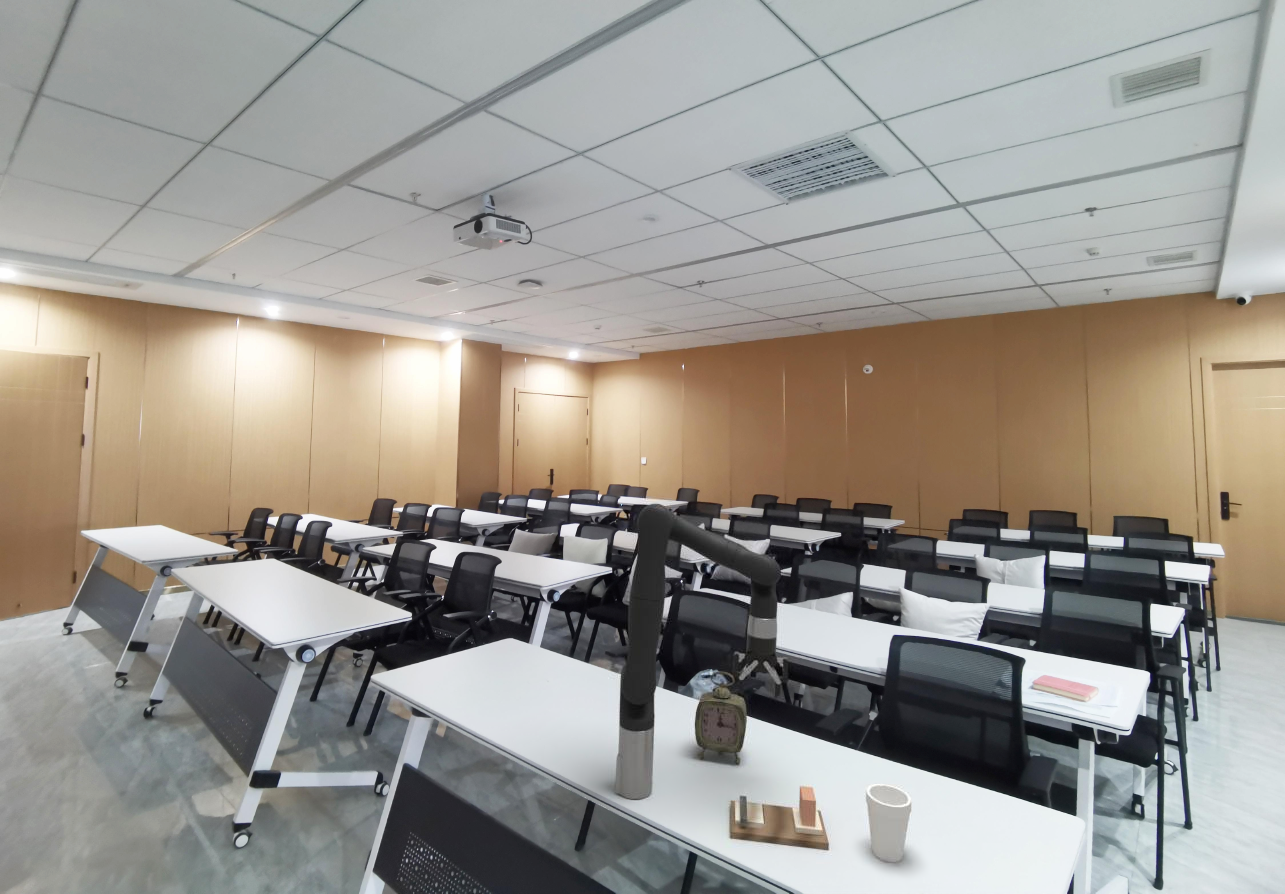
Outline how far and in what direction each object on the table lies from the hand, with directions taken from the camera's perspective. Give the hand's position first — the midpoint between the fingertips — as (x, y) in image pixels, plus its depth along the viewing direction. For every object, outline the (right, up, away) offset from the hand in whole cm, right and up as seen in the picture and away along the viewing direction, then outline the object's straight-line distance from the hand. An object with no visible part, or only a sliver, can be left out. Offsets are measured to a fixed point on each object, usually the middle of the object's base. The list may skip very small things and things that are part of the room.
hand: (758, 695), depth 159 cm
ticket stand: (+2, -26, -13) cm, 29 cm away
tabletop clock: (-7, -27, +21) cm, 35 cm away
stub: (+9, -25, -14) cm, 30 cm away
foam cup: (+25, -27, -21) cm, 43 cm away
